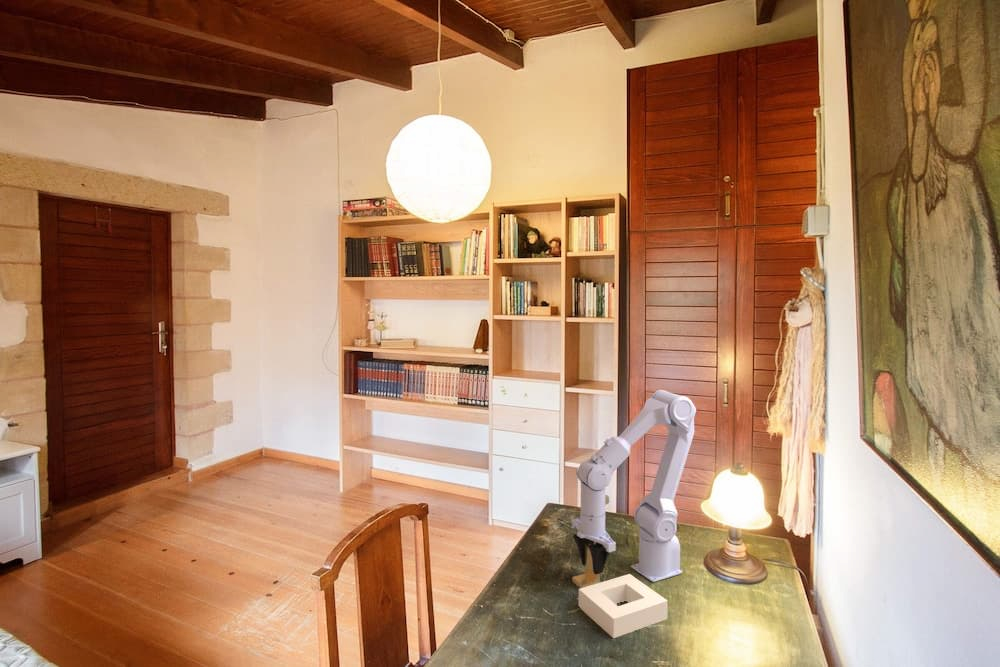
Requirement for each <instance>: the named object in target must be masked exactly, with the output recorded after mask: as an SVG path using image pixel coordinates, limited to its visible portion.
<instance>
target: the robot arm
mask: <svg viewBox="0 0 1000 667" xmlns="http://www.w3.org/2000/svg"><path fill="white" fill-rule="evenodd" d="M696 412H697V409H696V407H695V405H694V403H693V401H692V400H691V399H690V398H689V397H687V396H684V395H679V394H676V393H672V392H670V391H667V390H664V389H660V390H656V391H655V392H654V393H652V395H651V396H650V397H649V398H648V399H646V401H645V404H644V406H643V408H642V409H641V411H640V412H639V413H638V414H637V415H636V416H635V418H633V420H631V423H629V425H628V426H627V427H626V428H625V429H624V431H623V432H621V434H620V435H619V436H611V437H610V438H606V439H605V441H604V444H603V445H602V446H601V447H600V449H598V451H596V452H595V454H592V455H591V456H590V458H589V459H585V460H583V461H582V462H581V463H580V465H579V466H578V469H577V470H576V471H575V472H576V477H577V479H578V480H579V481H580V518H574V519H571V528H572V529H574V530H577V532H576V533H574V534H573V535H572V538H573V540H574V541H575V542H574V543H576V545H577V549H578V552H579V555H580V560H581V563H582V566H585V545H588V544H591V545H589V546H588V548H589V550H590V552H591V556H592V562H593V572H594V574H600V575H601V574H602V573H603V572H604V569H605V565H606V562H607V559H608V557H609V555H610V553H612V552H616V548H617V547H616V545H617V543H616V541H614V540H613V539H612V538H611V536H610V535H609V533H608V531H606V505H605V495H607V494H606V488H607V487H608V486H610V483H611V480H612V475H614V472H615V471H616V470H617V469H618V468H619V467H620V466H621V464H623V463H624V461H625V460H627V459H628V457H629V456H630V455H631V448H632V446H633V445H634V444H635V443H636V442H638V440H640V439H641V438H642V437H643V436H644V435H645V434H646V433H648V431H650V430H651V429H652V428H653V427H654V426H656V425H657V426H658V425H664V426H665V427H666V428H667V430H668V436H667V439H666V442H665V445H664V448H663V452H662V456H661V459H660V461H659V465H658V468H657V471H656V474H655V476H654V477H655V478H654V480H653V484H652V488H651V490H650V492H649V493H648V494H646V495H644V496H643V497H642V500H641V502H640V503H639V505H638V506H637V507H636V509H635V511H634V515H633V516H634V517H633V518H634V521H635V523H636V525H638V532H639V535H638V536H639V541H638V542H639V543H638V547H639V550H638V552H639V553H638V555H639V556H638V563H634V564H632V565H631V566H630V567H631V568H632V569H633V570H634V571H635V572H637V573H638V574H640V575H642V576H643V577H644V578H646V579H647V580H649V581H650V582H652V583H655V582H658V581H659V582H660V581H663V580H664V579H667V578H671V577H674V576H678V575H681V574H683V570H682V569H681V544H680V541H679V538H678V537H677V535H676V533H677V528H678V526H677V525H678V524H677V519H678V516H679V514H678V510H677V508H676V506H675V502H674V500H675V497H676V494H677V490H678V488H679V485H680V480H681V478H682V475H683V471H684V468H685V464H686V461H687V458H688V455H689V451H690V449H691V446H692V445H691V444H692V442H693V439H694V434H695V431H696V430H695V420H694V419H695V415H696V414H697V413H696ZM594 541H595V542H596V544H594Z"/></svg>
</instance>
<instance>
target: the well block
mask: <svg viewBox="0 0 1000 667" xmlns="http://www.w3.org/2000/svg"><path fill="white" fill-rule="evenodd" d="M624 601H625V602H626V601H627V602H628V603H627V602H626V603H625V602H624ZM620 602H622V603H624V604H622V605H618V604H617V603H619V604H621V603H620ZM668 602H669V601H668V600H667V599H666V598H665V597H663V596H662V595H660V594H659V593H658V592H656V591H655V590H653V589H651V587H649V586H648V585H646V584H645V583H643V582H642V581H640V580H639V579H638V578H636V577H635V576H633V575H632V574H630V573H628V574H624V575H621V576H618V577H614V578H611V579H607V580H604V581H600V583H597V584H594V585H590V586H587V587H584V588H578V607H580V608H581V609H580V608H579V609H580V610H582V612H584V614H586V615H587V616H588V617H589V618H590V619H591V620H592V621H594V622H595V623H596V625H598V626H599V627H601V629H602V630H603V631H605V633H607V634H608V635H609V636H610V637H611V638H612V639H615V638H619V637H621V636H624V635H627V634H630V633H633V632H635V630H636V631H638V630H640V629H643V628H646V627H649V626H652V625H655V624H657V623H660V622H664V621H667V620H668V613H669V612H668V610H669V609H668V605H669V604H668Z"/></svg>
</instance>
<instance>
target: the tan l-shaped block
mask: <svg viewBox="0 0 1000 667" xmlns="http://www.w3.org/2000/svg"><path fill="white" fill-rule="evenodd" d="M589 545H591V544H588V545H585V565H584V573H582V574H579V575H575V576H572V579H571V580H572V581H573V582H574V583H575V584H576V586H577V587H578V586H579V587H580V588H584V587H587V586H590V585H594V584H597V583H600V582H601V573H600V574H594V572H593V562H592V556H591V552H590V550H589V548H588V546H589ZM573 582H572V583H573ZM574 583H573V584H574ZM575 584H574V585H575ZM579 587H578V588H579ZM580 588H579V589H580Z"/></svg>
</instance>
